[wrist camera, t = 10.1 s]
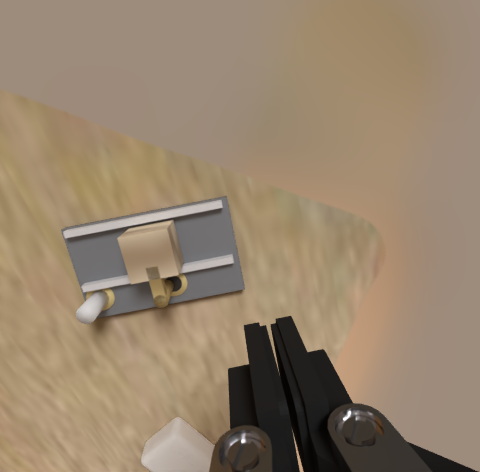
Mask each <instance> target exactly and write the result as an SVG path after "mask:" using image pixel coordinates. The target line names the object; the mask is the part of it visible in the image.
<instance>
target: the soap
mask: <svg viewBox="0 0 480 472" xmlns="http://www.w3.org/2000/svg"><path fill="white" fill-rule="evenodd" d="M214 447H215V446H214V445H213V444H212V443H211V442H210V441H208V440H207V439H206V438H205V437H204V436H202V435H201V434H200V433H199V432H198V431H196V430H195V429H194V428H193V427H192V426H190V425H189V424H188V423H187V422H185V421H184V420H183V419H182V418H180V417H176V418H174V419H173V420H171V421H170V422H169V423H168V424H167V425H165V426H164V427H163V428H162V429H160V430H159V431H158V432H157V433H156V434H154V435H153V436H152V437H151V438H149V439H148V440H147V441H146V443H145V446H144V450H143V453H142V457H141V463H142V465H143V466H145V467H146V468H147V469H149V470H150V471H151V472H209V469H210V464H211V458H212V453H213V450H214Z"/></svg>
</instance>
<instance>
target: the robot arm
mask: <svg viewBox="0 0 480 472" xmlns="http://www.w3.org/2000/svg"><path fill="white" fill-rule="evenodd" d="M271 330H272V336H273V341H274V346H275V352H276V357H277V363H278V368H279V372H278V368H277V364H276V361H275V357H274V353H273V350H272V346H271V342H270V339H269V335H268V331H267V328H266V325H265V326H260V325H259V322H258V323H253V324H248V325H244V331H245V338H246V345H247V352H248V359H249V364H248V365H243V366H238V367H233V368H229V369H228V380H229V404H230V429H231V430H229V431H227V432H226V433H225V434H223V435H222V436H221V437H220V438H219V440H218V441H217V443H216V444H215V447H214V450H213V453H212V458H211V464H210V469H209V472H300V471H299V465H298V460H297V454H296V448H295V443H294V437H295V441H296V444H297V448H298V452H299V456H300V459H301V463H302V467H303V471H304V472H478V471H475V470H473V469H471V468H468V467H465V466H463V465H461V464H459V463H456V462H454V461H452V460H449V459H447V458H444V457H442V456H440V455H437V454H435V453H433V452H430V451H428V450H425V449H423V448H421V447H418V446H416V445H414V444H411V443H409V442H407V441H406V440H405V439H404V438H403V437H402V436H401V434H400V433H399V432H398V431H397V430H396V429H395V428H394V426H393V425H392V424H391V423H390V422H389V420H388V419H387V418H386V417H385V416H384V415H383V414H382V413H381V412H379V411H378V410H377V409H375V408H373V407H371V406H368V405H364V404H357V403H353V402H352V400H351V399H350V397H349V395H348V393H347V391H346V389H345V387H344V385H343V384H342V382H341V380H340V378H339V376H338V374H337V372H336V371H335V369H334V367H333V365H332V363H331V361H330V359H329V357H328V356H327V354H326V352H325V351H324V350H323V349H322V350H317V351H312V352H307V350H306V348H305V346H304V344H303V341H302V339H301V337H300V335H299V332H298V330H297V328H296V326H295V323H294V321H293V319H292V317H291V316H288V317H283V318H278V319H276V323H275V324H271ZM279 374H280V376H279ZM292 429H293V432H292ZM293 433H294V437H293Z"/></svg>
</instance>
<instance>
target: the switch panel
mask: <svg viewBox="0 0 480 472" xmlns="http://www.w3.org/2000/svg"><path fill="white" fill-rule="evenodd" d="M169 220H174V224H175V228H176V232H177V236H178V240H179V244H180V249H181V253H182V257H183V261H184V262H183V264H182V267H181V270H180V273H179V275H176V276H171V277H166V278H163V279H164V280H170V281H171V282H172V283H173V285H174V288H173V291H172V293H171V296H170V299H169V302H168V304H172V303H177V302H182V301H187V300H192V299H198V298H203V297H208V296H213V295H218V294H223V293H228V292H233V291H238V290H243V289H245V287H244V282H243V277H242V272H241V266H240V261H239V256H238V251H237V246H236V241H235V236H234V231H233V226H232V221H231V216H230V211H229V206H228V201H227V196H224V197H219V198H214V199H209V200H204V201H198V202H193V203H188V204H183V205H178V206H173V207H168V208H163V209H158V210H152V211H147V212H142V213H137V214H132V215H127V216H122V217H117V218H111V219H106V220H101V221H96V222H91V223H86V224H81V225H76V226H70V227H66V228H64V229H62V230H61V231H62V234H63V237H64V240H65V243H66V246H67V249H68V251H69V254H70V257H71V260H72V263H73V266H74V269H75V272H76V275H77V278H78V281H79V284H80V287H81V290H82V293H83V296H84V299H85V302H84V304H83V305H82V306H81V307H80V308H79V309H78V310H77V312H76V317H77V319H78V320H79V321H80V322H81V323H84V324H90V323H92V322H93V321H94V320H95V319H96V318H101V317H106V316H111V315H116V314H121V313H126V312H131V311H136V310H142V309H147V308H152V307H156V306H155V305H154V298H153V294H152V290H151V287H150V283H149V281H146V282H141V283H136V284H131V283H130V280H129V276H128V273H127V269H126V266H125V263H124V259H123V256H122V253H121V249H120V246H119V242H118V239H117V238H118V237H119V236H121V235H122V234H123V233H124V232H125V231H127V230H128V229H129V228H133V227H138V226H143V225H148V224H153V223H159V222H164V221H169Z"/></svg>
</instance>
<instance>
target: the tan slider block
mask: <svg viewBox="0 0 480 472" xmlns="http://www.w3.org/2000/svg"><path fill="white" fill-rule="evenodd" d="M117 239H118V242H119V246H120V249H121V253H122V256H123V259H124V263H125V266H126V269H127V273H128V276H129V280H130V283H131V284H136V283H141V282H146V281H149V283H150V287H151V290H152V294H153V298H154V305H155V306H156V307H158V308H164V307H166V306H167V304H168V302H169V299H170V296H171V293H172V291H173V288H174V285H173V283H172V282H171V281H170V280H164V279H163V278H166V277H171V276H176V275H179V273H180V270H181V267H182V264H183V262H184V261H183V257H182V253H181V249H180V244H179V240H178V236H177V232H176V228H175V224H174V220H169V221H164V222H159V223H153V224H148V225H143V226H138V227H133V228H129V229H128V230H127V231H125V232H124V233H123V234H122V235H121V236H119V237H118V238H117Z"/></svg>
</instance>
